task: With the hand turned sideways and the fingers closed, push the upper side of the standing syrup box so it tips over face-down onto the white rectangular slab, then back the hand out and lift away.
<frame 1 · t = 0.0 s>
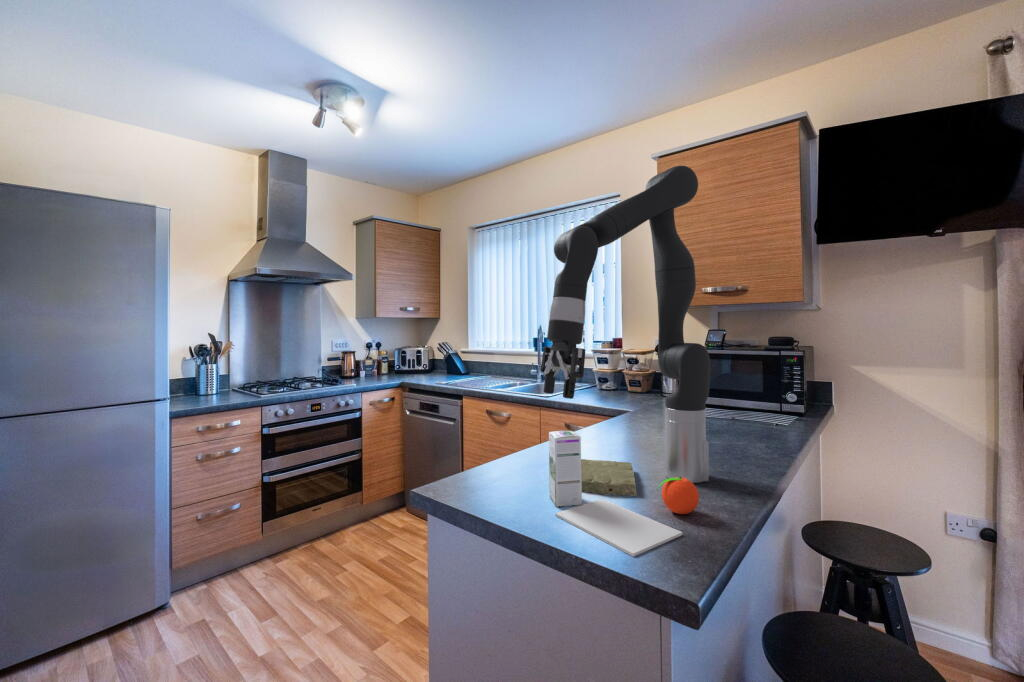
hand: (557, 395, 92), 22 cm above the counter, tool pointing down, fingers open, 8 cm apart
syrup box: (565, 502, 91), on the counter
decorative tile: (592, 483, 104), on the counter
white rectangular slab: (615, 524, 80), on the counter
clementine: (677, 513, 85), on the counter
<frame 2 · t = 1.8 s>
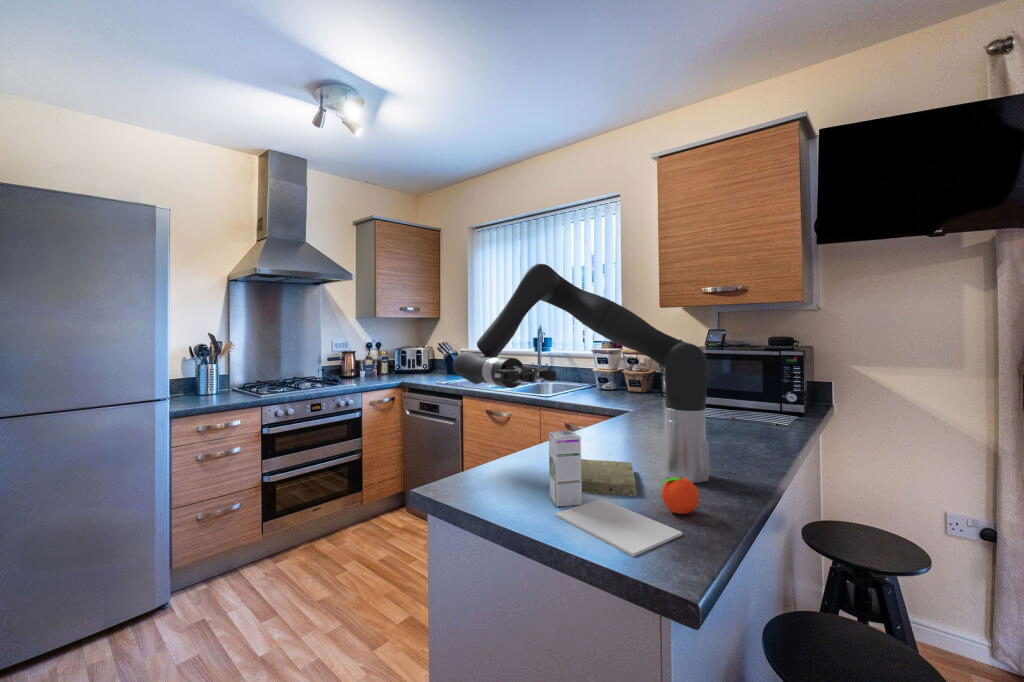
hand: (544, 376, 95), 26 cm above the counter, tool horizontal, fingers open, 5 cm apart
nothing on the counter moved.
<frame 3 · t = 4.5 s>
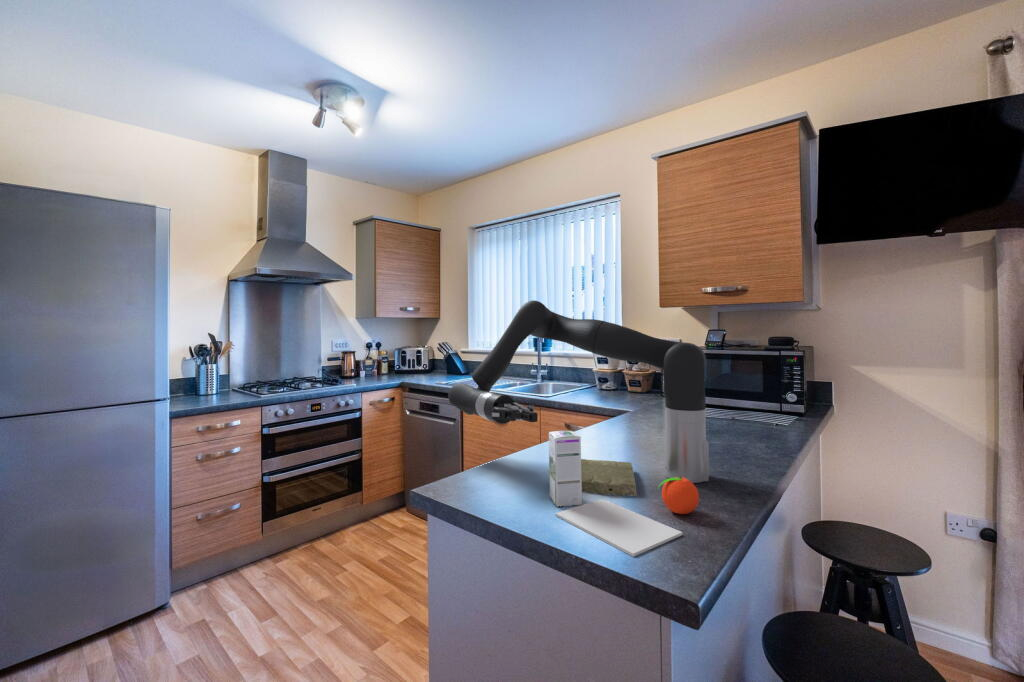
hand: (535, 417, 99), 16 cm above the counter, tool horizontal, fingers closed
nothing on the counter moved.
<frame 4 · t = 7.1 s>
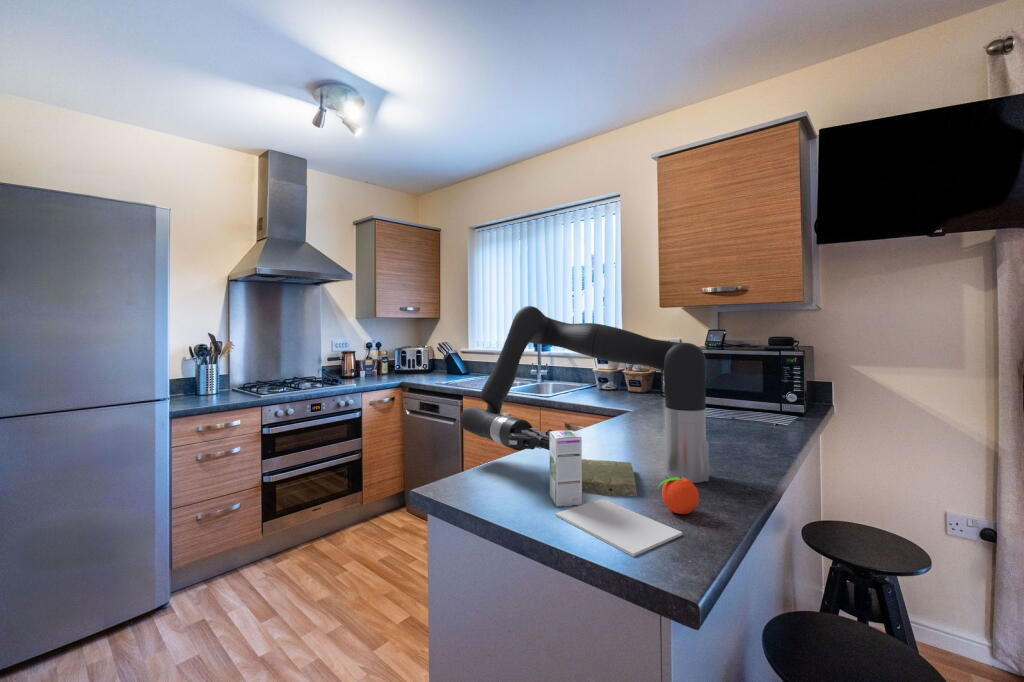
hand: (555, 446, 93), 11 cm above the counter, tool horizontal, fingers closed
syrup box: (565, 501, 91), on the counter, touching gripper
everything else where it was.
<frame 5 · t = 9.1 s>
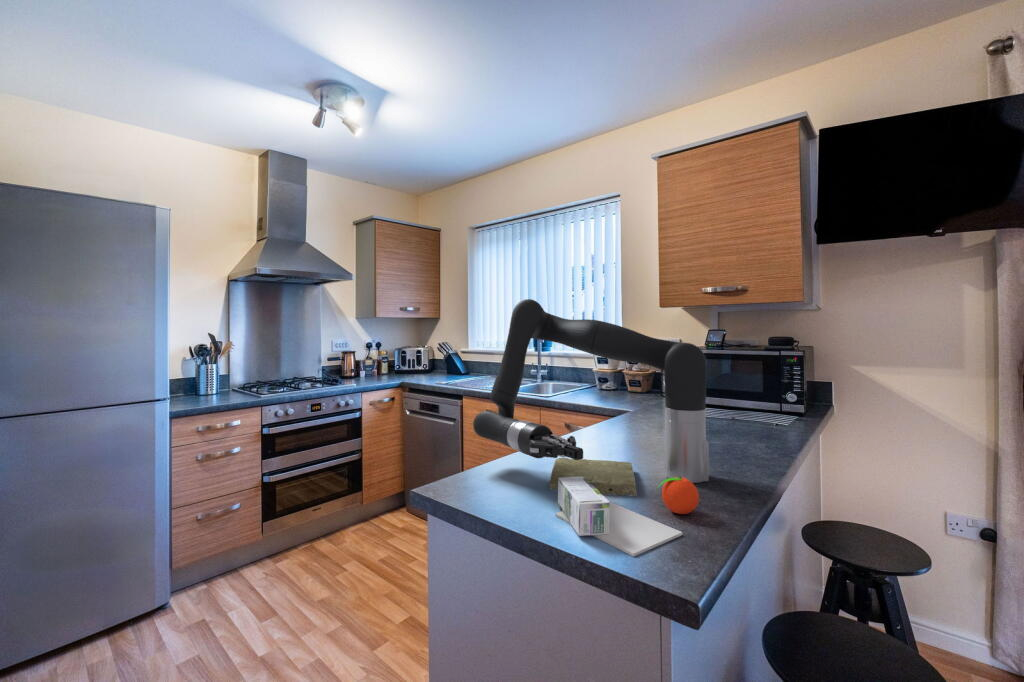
hand: (580, 454, 87), 11 cm above the counter, tool horizontal, fingers closed
syrup box: (570, 489, 89), point 3 cm above the counter, touching white rectangular slab
everything else where it was.
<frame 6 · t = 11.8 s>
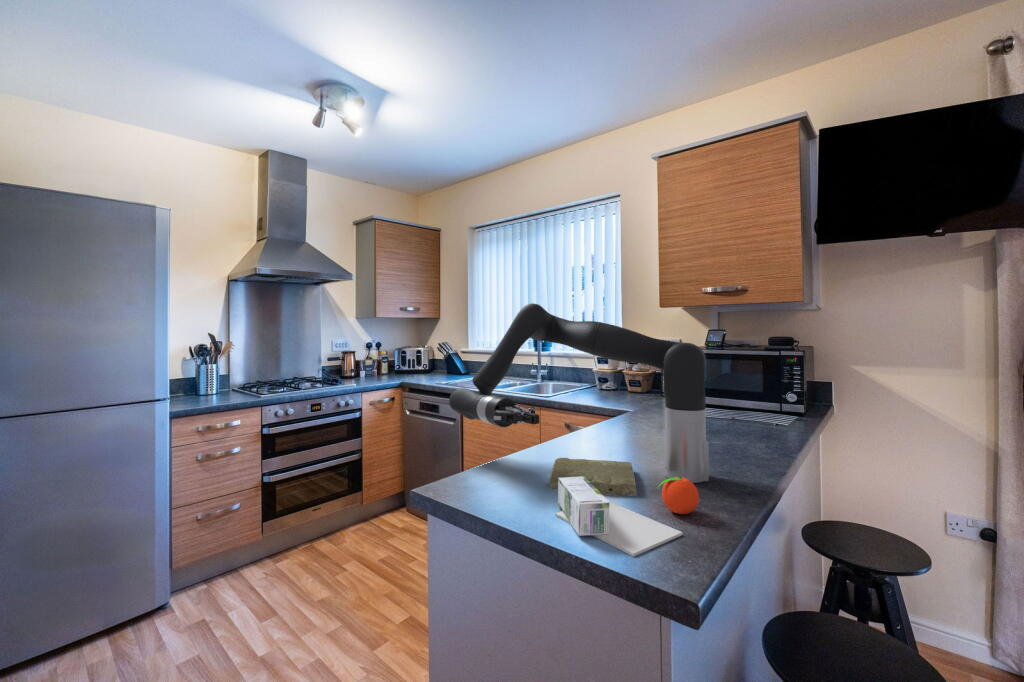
hand: (536, 419, 99), 16 cm above the counter, tool horizontal, fingers closed
nothing on the counter moved.
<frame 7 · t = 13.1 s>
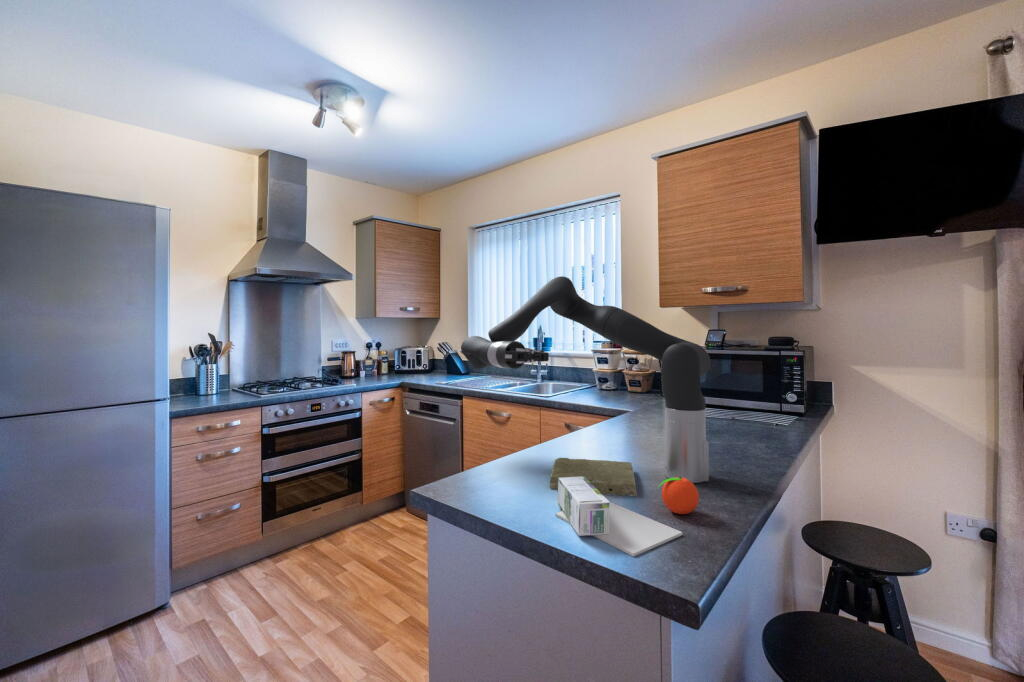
hand: (546, 357, 105), 30 cm above the counter, tool horizontal, fingers closed
nothing on the counter moved.
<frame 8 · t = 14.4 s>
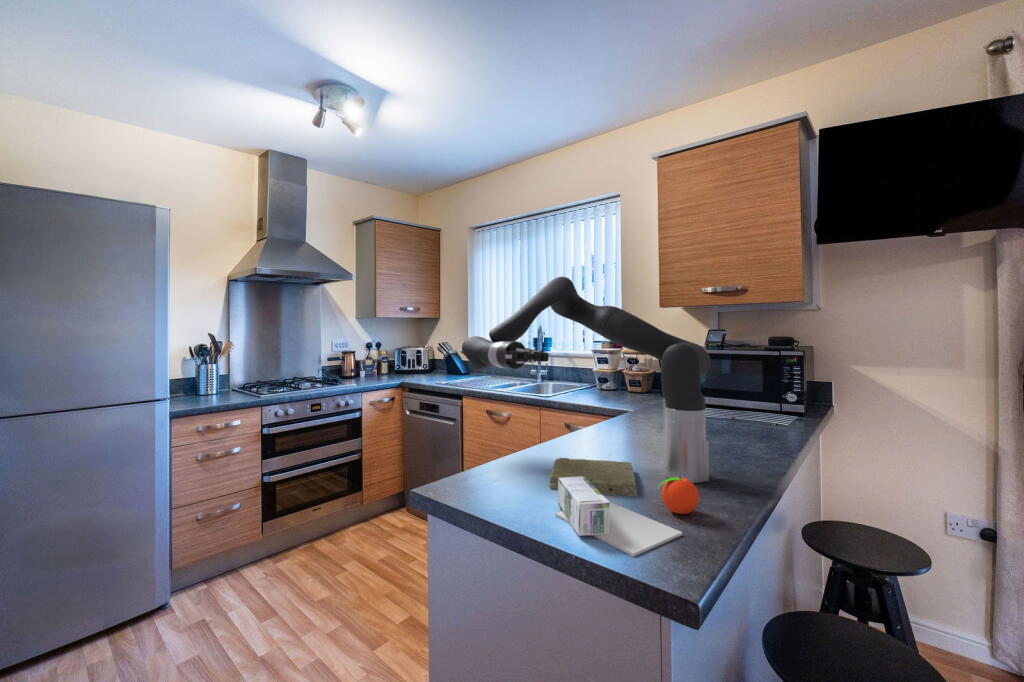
hand: (546, 357, 105), 30 cm above the counter, tool horizontal, fingers closed
nothing on the counter moved.
at the end: syrup box tilted 90°; syrup box touching white rectangular slab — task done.
